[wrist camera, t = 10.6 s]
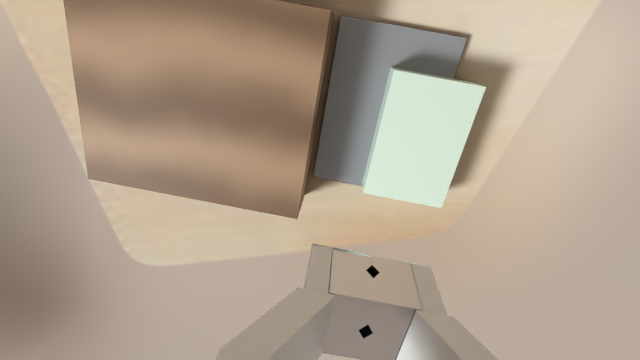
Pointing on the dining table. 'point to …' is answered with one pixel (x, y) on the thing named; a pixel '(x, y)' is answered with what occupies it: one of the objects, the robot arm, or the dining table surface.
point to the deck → (201, 96)
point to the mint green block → (420, 136)
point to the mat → (372, 87)
